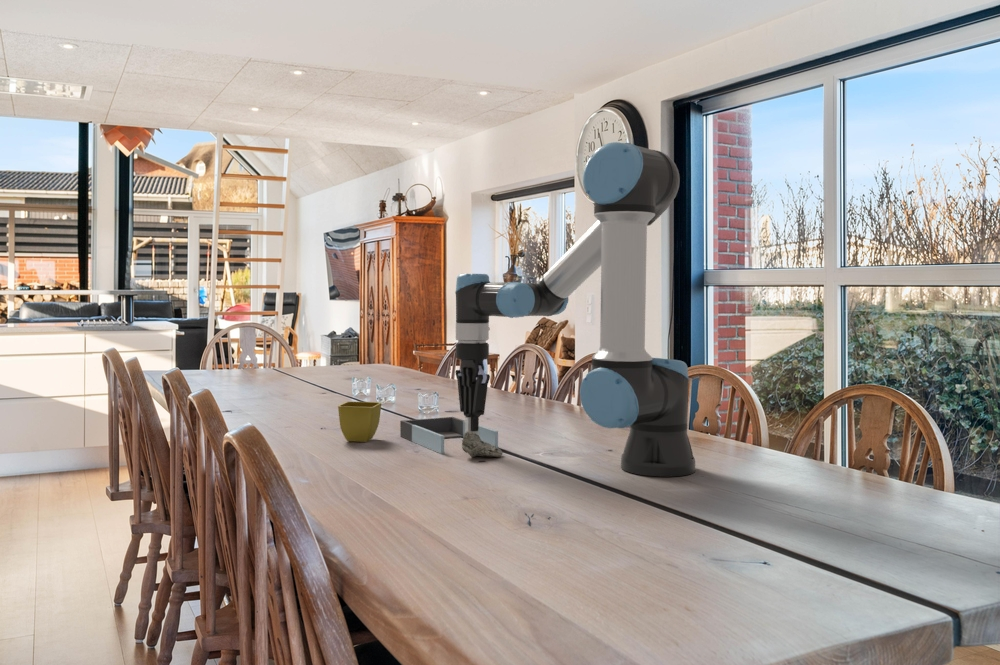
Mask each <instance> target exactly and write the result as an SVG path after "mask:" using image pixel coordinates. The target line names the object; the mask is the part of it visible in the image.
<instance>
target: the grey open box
mask: <svg viewBox="0 0 1000 665" xmlns="http://www.w3.org/2000/svg"><path fill="white" fill-rule="evenodd" d="M463 421H465V419H461V418H458V417H455V416H447V417H432V418H431V417H430V418H420V419H409V420H408V419H407V420H400V424H399V426H400V427H399V428H400V434H399V435H400V437H401V438H403V439H405V440H408V441H410V442H412V425H417V426H419V427H422V428H425V429H427V430H430V431H433V432H435V433H438V434H441V435H443V436H444V440H445V439H453V438H463Z"/></svg>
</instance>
